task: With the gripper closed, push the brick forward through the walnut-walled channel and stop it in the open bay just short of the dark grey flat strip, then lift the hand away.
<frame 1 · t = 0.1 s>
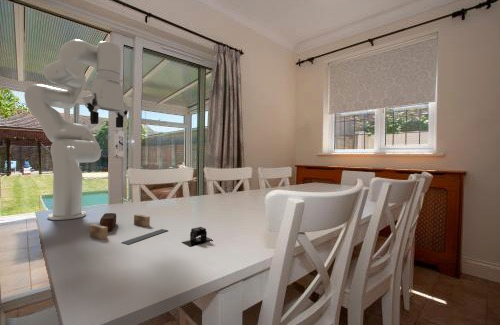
hand: (107, 125, 90), 37 cm above the table, tool pointing down, fingers open, 9 cm apart
channel: (121, 230, 85), on the table
brick: (108, 228, 88), on the table
black arch bracket: (198, 243, 77), on the table
dark grey flat strip: (146, 236, 80), on the table
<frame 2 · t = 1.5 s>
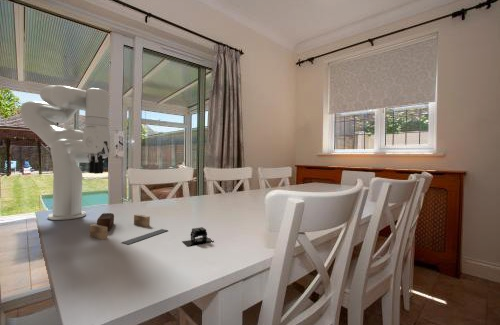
hand: (96, 172, 91), 19 cm above the table, tool pointing down, fingers closed
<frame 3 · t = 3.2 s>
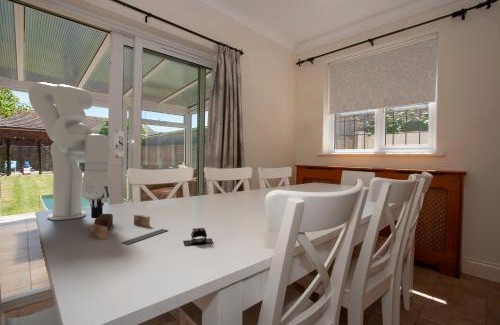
hand: (96, 217, 91), 3 cm above the table, tool pointing down, fingers closed
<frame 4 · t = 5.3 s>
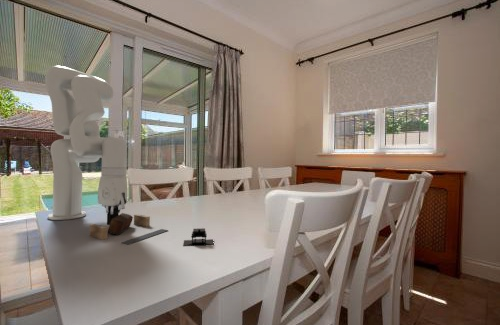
hand: (112, 224, 87), 1 cm above the table, tool pointing down, fingers closed
brick: (119, 230, 85), on the table, touching gripper
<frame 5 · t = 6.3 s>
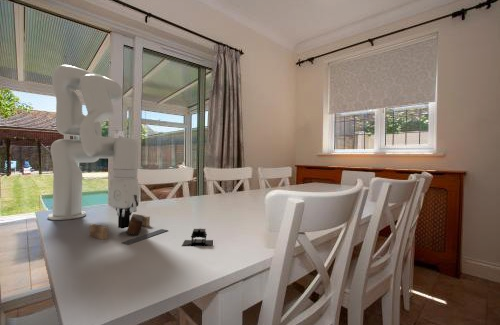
hand: (123, 227, 85), 1 cm above the table, tool pointing down, fingers closed
brick: (134, 230, 85), on the table, touching gripper
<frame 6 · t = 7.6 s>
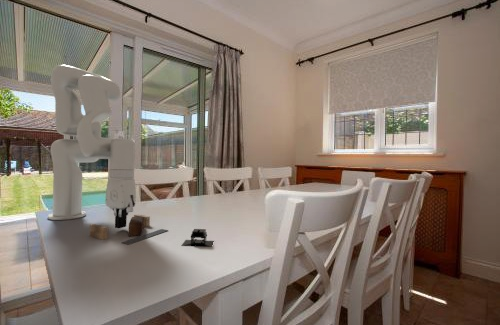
hand: (120, 227, 86), 1 cm above the table, tool pointing down, fingers closed
brick: (136, 232, 85), on the table
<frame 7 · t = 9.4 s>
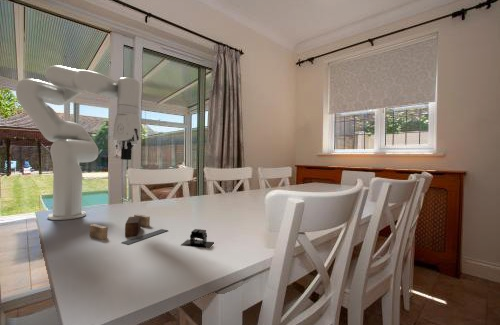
hand: (126, 159, 95), 24 cm above the table, tool pointing down, fingers closed
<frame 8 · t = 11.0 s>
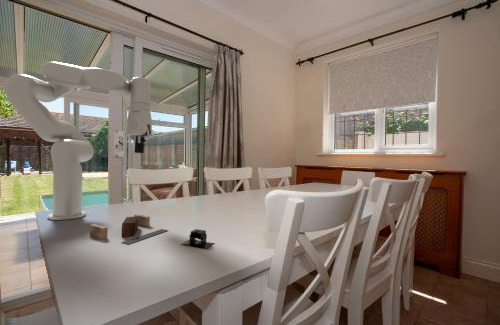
hand: (139, 152, 103), 27 cm above the table, tool pointing down, fingers closed
at the end: brick 2.1 cm from the target spot, on the table; brick touching table; brick tilted 2° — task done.
